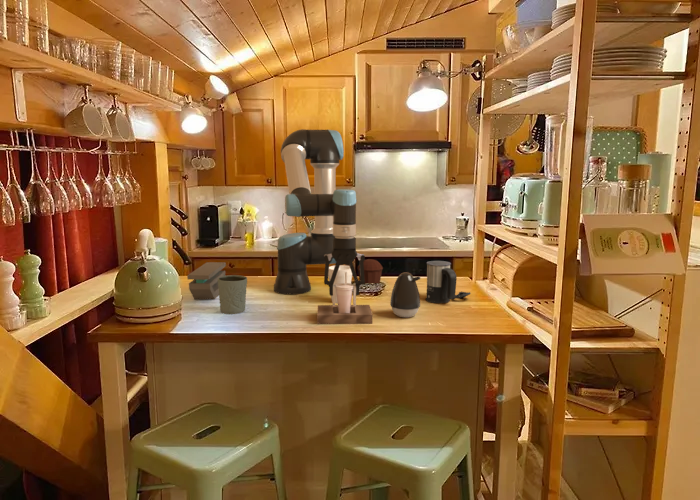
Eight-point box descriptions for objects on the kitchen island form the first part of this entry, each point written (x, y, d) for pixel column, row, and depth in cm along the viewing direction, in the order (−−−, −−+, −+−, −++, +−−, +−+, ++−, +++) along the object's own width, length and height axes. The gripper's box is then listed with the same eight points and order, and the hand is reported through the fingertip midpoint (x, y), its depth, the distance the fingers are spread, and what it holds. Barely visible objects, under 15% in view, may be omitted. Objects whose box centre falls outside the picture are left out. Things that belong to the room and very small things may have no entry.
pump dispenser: (412, 321, 172) (413, 277, 170) (384, 316, 178) (385, 273, 175) (425, 314, 181) (426, 271, 178) (398, 309, 186) (399, 268, 183)
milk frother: (420, 300, 199) (421, 262, 196) (443, 293, 210) (445, 257, 207) (452, 307, 189) (453, 268, 186) (474, 299, 200) (476, 262, 197)
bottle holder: (317, 324, 169) (317, 315, 168) (317, 313, 181) (317, 305, 180) (372, 323, 170) (372, 314, 169) (369, 313, 182) (369, 304, 181)
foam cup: (356, 299, 199) (356, 266, 197) (346, 305, 191) (346, 271, 188) (334, 297, 203) (334, 264, 201) (323, 302, 195) (323, 268, 192)
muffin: (355, 279, 233) (356, 257, 232) (380, 278, 235) (380, 257, 233) (359, 285, 222) (359, 262, 220) (384, 285, 223) (385, 262, 221)
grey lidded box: (207, 287, 217) (206, 262, 215) (226, 287, 217) (225, 262, 215) (188, 303, 192) (187, 275, 191) (209, 304, 192) (208, 275, 190)
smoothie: (351, 316, 171) (351, 275, 169) (332, 315, 172) (332, 274, 170) (355, 310, 177) (355, 270, 175) (337, 309, 179) (337, 270, 176)
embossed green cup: (216, 308, 186) (215, 276, 184) (244, 305, 190) (243, 273, 188) (221, 316, 177) (220, 282, 175) (250, 313, 181) (249, 279, 179)
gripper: (315, 238, 166) (315, 308, 170) (374, 238, 167) (373, 307, 171) (315, 235, 174) (315, 301, 178) (372, 235, 175) (371, 301, 179)
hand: (344, 304), depth 174 cm, fingers closed on smoothie, 6 cm apart
